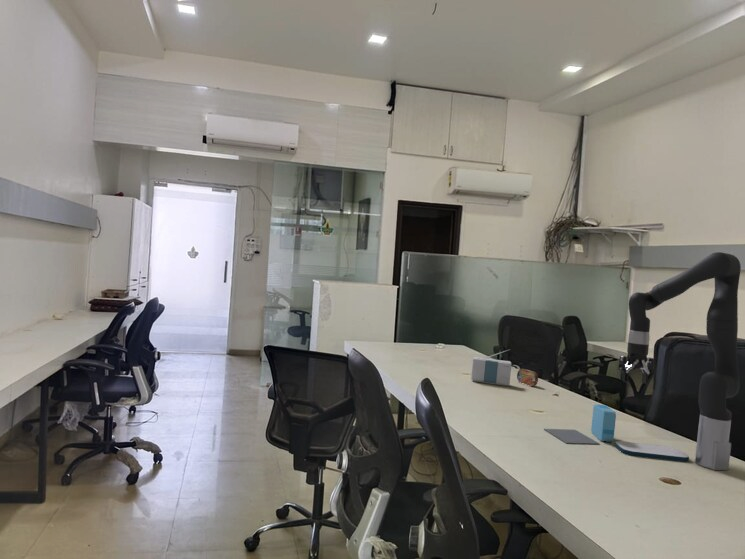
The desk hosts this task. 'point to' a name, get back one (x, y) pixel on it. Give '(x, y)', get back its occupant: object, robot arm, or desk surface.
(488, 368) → the stereo radio cassette player
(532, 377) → the tin
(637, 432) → the desk surface
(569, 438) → the mat
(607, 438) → the data package
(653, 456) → the white blue flat slab
